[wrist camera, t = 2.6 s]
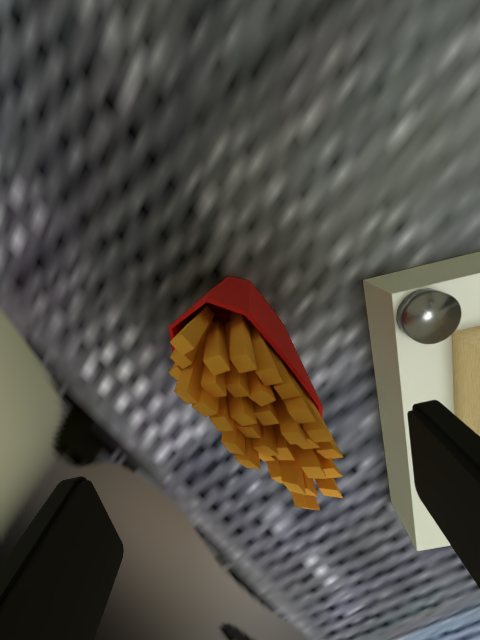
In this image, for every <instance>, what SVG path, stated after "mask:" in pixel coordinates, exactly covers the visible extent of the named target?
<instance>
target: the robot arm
mask: <svg viewBox="0 0 480 640" xmlns="http://www.w3.org/2000/svg"><path fill="white" fill-rule="evenodd" d="M407 416H408V426H409V436H410V445H411V455H412V465H413V474H414V484H415V488H416V491H417V494H418V496H419V498H420V500H421V501H422V503H423V504H424V506H425V507H426V509H427V510H428V512H429V513H430V515H431V516H432V518H433V519H434V521H435V522H436V524H437V525H438V527H439V528H440V530H441V531H442V533H443V534H444V536H445V537H446V539H447V540H448V542H449V543H450V545H451V546H452V548H453V549H454V551H455V552H456V554H457V555H458V556H459V558H460V559H461V561H462V562H463V564H464V565H465V567H466V568H467V570H468V571H469V573H470V574H471V576H472V577H473V579H474V580H475V582H476V583H477V585H478V586H479V588H480V436H479V435H478V434H476V433H475V432H474V431H473V430H472V429H471V428H469V427H468V426H467V425H466V424H465V423H464V422H462V421H461V420H460V419H459V418H458V417H457V416H456V415H454V414H453V413H452V412H451V411H450V410H449V409H447V408H446V407H445V406H444V405H443V404H442V403H440V402H439V401H438V400H430V401H426V402H421V403H417V404H414V405H413V407H412V410H411V411H408V413H407ZM122 558H123V544H122V541H121V540H120V538H119V536H118V534H117V532H116V530H115V528H114V526H113V524H112V522H111V520H110V518H109V516H108V514H107V512H106V510H105V508H104V506H103V504H102V502H101V500H100V498H99V496H98V494H97V492H96V490H95V488H94V486H93V484H92V483H91V481H89V480H86V478H84V477H76V478H72V479H67V480H63V481H61V482H60V483H59V484H58V485H57V486H56V488H55V490H54V491H53V492H52V494H51V495H50V496H49V498H48V499H47V501H46V502H45V504H44V505H43V506H42V508H41V509H40V511H39V512H38V514H37V515H36V516H35V518H34V519H33V521H32V522H31V524H30V525H29V526H28V528H27V529H26V531H25V532H24V534H23V535H22V536H21V538H20V539H19V541H18V542H17V543H16V545H15V546H14V548H13V549H12V551H11V552H10V554H9V555H8V556H7V558H6V559H5V561H4V562H3V563H2V565H1V566H0V640H94V638H95V635H96V632H97V630H98V627H99V624H100V621H101V618H102V615H103V613H104V609H105V607H106V604H107V601H108V598H109V595H110V592H111V590H112V587H113V584H114V581H115V578H116V575H117V572H118V570H119V567H120V564H121V561H122Z"/></svg>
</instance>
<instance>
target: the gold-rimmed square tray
mask: <svg viewBox="0 0 480 640" xmlns="http://www.w3.org/2000/svg"><path fill="white" fill-rule="evenodd" d="M363 286H364V293H365V301H366V309H367V317H368V325H369V333H370V341H371V349H372V356H373V364H374V372H375V380H376V388H377V396H378V404H379V411H380V419H381V427H382V435H383V443H384V451H385V459H386V467H387V474H388V482H389V490H390V498H391V503H392V505H393V507H394V509H395V511H396V513H397V515H398V516H399V518H400V520H401V522H402V524H403V526H404V528H405V530H406V531H407V533H408V535H409V537H410V539H411V541H412V543H413V545H414V546H415V548H416V550H417V551H421V550H427V549H432V548H438V547H444V546H450V543H449V542H448V540H447V539H446V537H445V536H444V534H443V533H442V531H441V530H440V528H439V527H438V525H437V524H436V522H435V521H434V519H433V518H432V516H431V515H430V513H429V512H428V510H427V509H426V507H425V506H424V504H423V503H422V501H421V500H420V498H419V496H418V494H417V491H416V488H415V484H414V474H413V465H412V455H411V445H410V436H409V426H408V416H407V413H408V411H411V410H412V407H413V405H414V404H417V403H421V402H426V401H430V400H438V401H439V402H440V403H442V404H443V405H444V406H445V407H446V408H447V409H449V410H450V411H451V412H452V413H453V414H454V415H456V416H457V417H458V418H459V419H460V420H461V421H462V422H464V423H465V424H466V425H467V426H468V427H469V428H471V429H472V430H473V431H474V432H475V433H476V434H478V435H479V436H480V251H479V252H475V253H471V254H467V255H463V256H459V257H455V258H451V259H447V260H442V261H438V262H434V263H430V264H426V265H422V266H418V267H414V268H410V269H406V270H401V271H397V272H393V273H389V274H385V275H381V276H377V277H373V278H369V279H365V280H363Z"/></svg>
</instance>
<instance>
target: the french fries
mask: <svg viewBox="0 0 480 640" xmlns="http://www.w3.org/2000/svg"><path fill="white" fill-rule="evenodd" d="M168 329H169V335H170V343H171V347H172V355H171V356H170V358H171V359H172V360H173V361H174V365H173V367H172V368H171V370H170V371H169V374H171V375H172V376H173V377H174V378H175V379H176V380H177V381H178V382H177V385H176V388H175V390H174V392H175V393H176V394H177V395H178V396H179V397H180V398H181V399H182V400H183V401H184V402H185V403H190V404H192V407H193V408H194V409H195V410H197V411H198V412H200V413H201V414H202V415H204V416H205V417H208V416H210V417H209V418H210V420H211V421H212V423H213V424H214V426H215V427H216V428H217V430H218V431H223V433H222V440H221V442H222V443H223V444H224V445H225V447H226V448H227V449H228V450H229V451H230V452H231V453H235V460H237V461H238V462H239V463H241V464H242V465H244V466H245V467H246V468H256V469H260V461H259V458H260V459H261V460H263V461H266V462H267V465H268V469H269V473H270V476H271V478H272V479H274V480H276V481H278V482H280V483H284V485H285V486H286V487H287V488H288V490H289V491H291V494H292V497H293V501H294V504H295V507H301V508H306V509H313V510H320V509H319V506H318V504H317V501H316V498H315V496H317V492H316V489H315V485H314V482H313V479H315V480H316V483H317V485H318V488H319V489H320V490H321V492H322V493H323V494H324V495H325V496H332V497H339V498H343V497H342V495H341V493H340V491H339V489H338V487H337V485H336V483H335V480H334V478H336V477H342V475H341V473H340V472H339V470H338V468H337V467H336V465H335V463H334V462H333V460H332V458H343V456H342V454H341V452H340V450H339V448H338V447H337V445H336V443H335V441H334V439H333V437H332V436H331V434H330V432H329V430H328V428H327V426H326V425H325V423H324V421H323V419H322V404H321V402H320V400H319V398H318V396H317V394H316V392H315V389H314V387H313V385H312V383H311V381H310V379H309V377H308V375H307V373H306V370H305V368H304V366H303V364H302V362H301V360H300V358H299V356H298V354H297V351H296V349H295V347H294V345H293V343H292V341H291V339H290V337H289V335H288V332H287V330H286V328H285V326H284V325H283V323H282V322H281V320H280V319H279V317H278V316H277V315H276V313H275V312H274V311H273V309H272V308H271V306H270V305H269V304H268V302H267V301H266V300H265V299H264V297H263V296H262V295H261V294H260V292H259V291H258V290H257V289H256V288H255V286H254V285H253V284H252V283H251V282H250V281H248V280H244V279H240V278H236V277H232V276H228V277H227V278H225V279H224V280H223V281H222V282H220V283H219V284H218V285H216V286H215V287H214V288H212V289H211V290H210V291H209V292H207V293H206V294H205V295H204V296H203V297H202V298H200V299H199V300H198V301H197V302H196V303H195V304H194V305H193V306H191V307H190V308H189V309H188V310H187V311H186V312H185V313H183V314H182V315H181V316H180V317H179V318H178V319H177V320H176V321H174V322H173V323H172V324H171V325H170V326H169V327H168ZM317 497H318V496H317Z"/></svg>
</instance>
